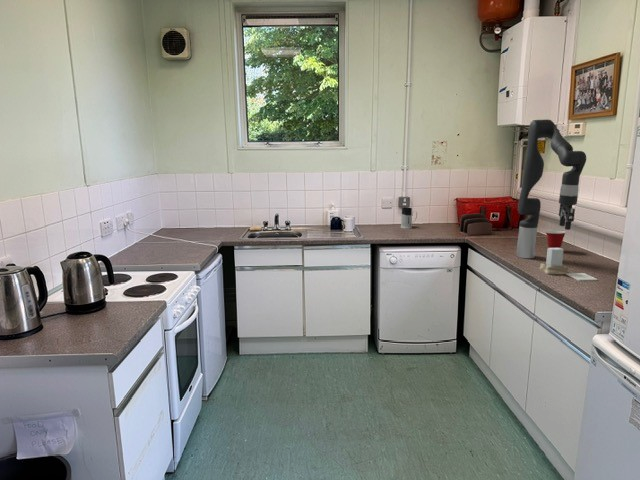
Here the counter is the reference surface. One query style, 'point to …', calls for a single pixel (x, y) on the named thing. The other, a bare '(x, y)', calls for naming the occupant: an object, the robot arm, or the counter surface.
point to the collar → (553, 269)
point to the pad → (581, 276)
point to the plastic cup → (555, 238)
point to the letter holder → (475, 224)
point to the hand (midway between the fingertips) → (564, 227)
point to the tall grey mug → (407, 217)
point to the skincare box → (554, 257)
